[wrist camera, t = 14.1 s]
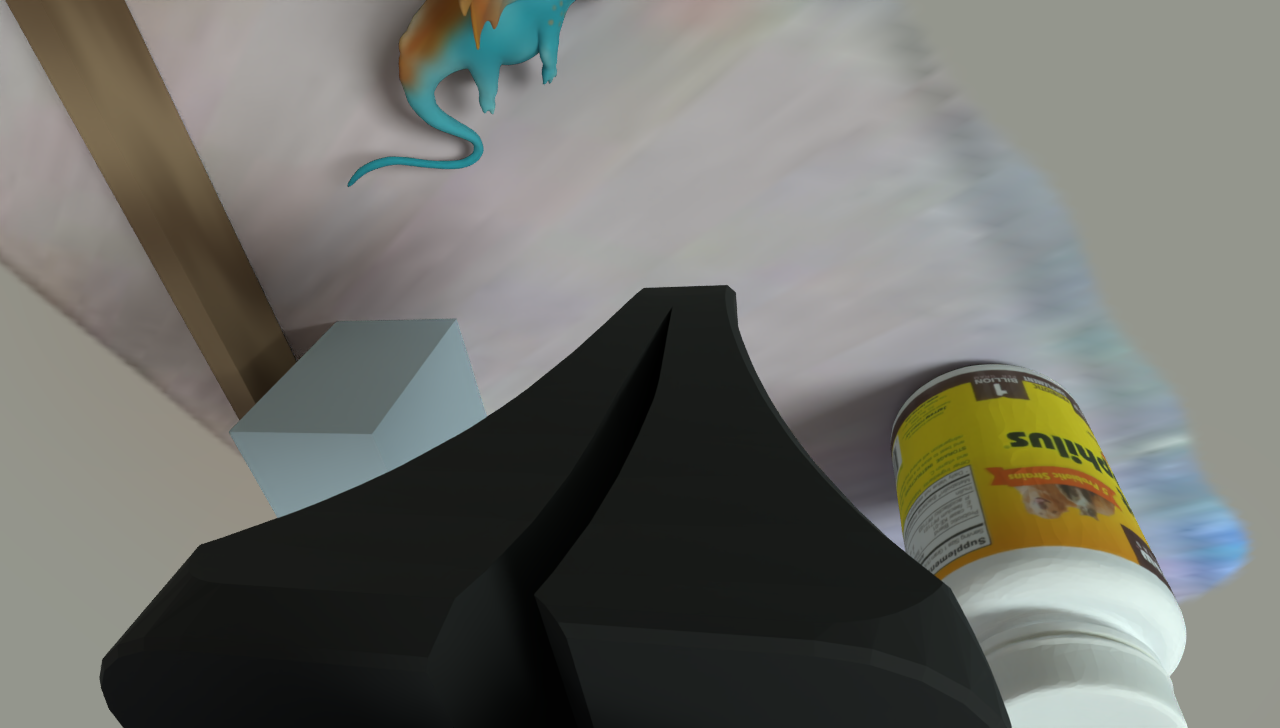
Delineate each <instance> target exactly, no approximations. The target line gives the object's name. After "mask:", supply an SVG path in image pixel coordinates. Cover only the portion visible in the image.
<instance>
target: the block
mask: <svg viewBox="0 0 1280 728" xmlns="http://www.w3.org/2000/svg"><path fill="white" fill-rule="evenodd" d="M486 417H487V415H486V412H485V409H484V406H483V403H482V399H481V396H480V393H479V390H478V387H477V383H476V380H475V377H474V374H473V371H472V367H471V364H470V361H469V358H468V355H467V351H466V348H465V345H464V342H463V339H462V335H461V332H460V329H459V326H458V323H457V319H422V320H377V321H337V322H336V323H335V324H334V325H333V326H332V327H331V328H330V329H329V330H328V331H327V332H326V333H325V334H324V335H323V336H322V337H321V338H320V339H319V340H318V341H317V342H316V343H315V344H314V345H313V346H312V347H311V348H310V349H309V350H308V351H307V352H306V353H305V354H304V355H303V356H302V357H301V358H300V359H299V360H298V361H297V362H296V364H295V365H294V366H293V367H292V368H291V369H290V370H289V371H288V372H287V373H286V374H285V375H284V376H283V377H282V378H281V379H280V380H279V381H278V382H277V383H276V384H275V385H274V386H273V387H272V388H271V389H270V390H269V391H268V392H267V393H266V394H265V395H264V396H263V397H262V398H261V399H260V400H259V401H258V402H257V403H256V404H255V405H254V406H253V407H252V408H251V409H250V410H249V412H248V413H247V414H246V415H245V416H244V417H243V418H242V419H241V420H240V421H239V422H238V423H237V424H236V425H235V426H234V427H233V428H232V429H231V430H230V431H229V433H230V435H231V437H232V439H233V440H234V442H235V444H236V446H237V447H238V449H239V451H240V453H241V454H242V456H243V458H244V460H245V461H246V463H247V465H248V467H249V468H250V470H251V472H252V474H253V475H254V477H255V479H256V481H257V482H258V484H259V486H260V488H261V490H262V491H263V493H264V495H265V497H266V498H267V500H268V502H269V504H270V505H271V507H272V509H273V511H274V512H275V514H276V516H277V518H279V517H282V516H284V515H287V514H290V513H293V512H296V511H298V510H301V509H303V508H306V507H308V506H311V505H314V504H316V503H319V502H321V501H324V500H326V499H328V498H331V497H333V496H335V495H338V494H340V493H342V492H345V491H347V490H349V489H352V488H354V487H356V486H359V485H361V484H363V483H365V482H367V481H369V480H372V479H374V478H376V477H378V476H380V475H382V474H385V473H387V472H389V471H391V470H393V469H395V468H397V467H399V466H401V465H403V464H405V463H407V462H409V461H410V460H412V459H414V458H416V457H418V456H420V455H422V454H423V453H425V452H427V451H429V450H431V449H433V448H434V447H436V446H438V445H440V444H442V443H444V442H445V441H447V440H449V439H451V438H453V437H455V436H457V435H458V434H460V433H462V432H464V431H465V430H467V429H469V428H470V427H472V426H473V425H475V424H477V423H478V422H480V421H481V420H483V419H484V418H486Z"/></svg>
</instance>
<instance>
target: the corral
mask: <svg viewBox="0 0 1280 728" xmlns="http://www.w3.org/2000/svg"><path fill="white" fill-rule="evenodd" d="M6 2H7V4H8V6H9V8H10V9H11V11H12V13H13V15H14V16H15V18H16V20H17V22H18V24H19V25H20V27H21V29H22V31H23V33H24V34H25V36H26V38H27V40H28V42H29V43H30V45H31V47H32V49H33V51H34V52H35V54H36V56H37V58H38V60H39V61H40V63H41V65H42V67H43V69H44V70H45V72H46V74H47V76H48V77H49V79H50V81H51V83H52V85H53V86H54V88H55V90H56V92H57V94H58V95H59V97H60V99H61V101H62V103H63V104H64V106H65V108H66V110H67V112H68V113H69V115H70V117H71V119H72V121H73V122H74V124H75V126H76V128H77V130H78V131H79V133H80V135H81V137H82V138H83V140H84V142H85V144H86V146H87V147H88V149H89V151H90V153H91V155H92V156H93V158H94V160H95V162H96V164H97V165H98V167H99V169H100V171H101V173H102V174H103V176H104V178H105V180H106V182H107V183H108V185H109V187H110V189H111V190H112V192H113V194H114V196H115V198H116V199H117V201H118V203H119V205H120V207H121V208H122V210H123V212H124V214H125V216H126V217H127V219H128V221H129V223H130V225H131V226H132V228H133V230H134V232H135V234H136V235H137V237H138V239H139V241H140V243H141V244H142V246H143V248H144V250H145V251H146V253H147V255H148V257H149V259H150V260H151V262H152V264H153V266H154V268H155V269H156V271H157V273H158V275H159V277H160V278H161V280H162V282H163V284H164V286H165V287H166V289H167V291H168V293H169V295H170V296H171V298H172V300H173V302H174V304H175V305H176V307H177V309H178V311H179V312H180V314H181V316H182V318H183V320H184V321H185V323H186V325H187V327H188V329H189V330H190V332H191V334H192V336H193V338H194V339H195V341H196V343H197V345H198V347H199V348H200V350H201V352H202V354H203V356H204V357H205V359H206V361H207V363H208V365H209V366H210V368H211V370H212V372H213V373H214V375H215V377H216V379H217V381H218V382H219V384H220V386H221V388H222V390H223V391H224V393H225V395H226V397H227V399H228V400H229V402H230V404H231V406H232V408H233V409H234V411H235V413H236V415H237V417H238V418H239V420H241V419H242V418H243V417H244V416H245V415H246V414H247V413H248V412H249V410H250V409H251V408H252V407H253V406H254V405H255V404H256V403H257V402H258V401H259V400H260V399H261V398H262V397H263V396H264V395H265V394H266V393H267V392H268V391H269V390H270V389H271V388H272V387H273V386H274V385H275V384H276V383H277V382H278V381H279V380H280V379H281V378H282V377H283V376H284V375H285V374H286V373H287V372H288V371H289V370H290V369H291V368H292V367H293V366H294V365H295V364H296V360H295V358H294V356H293V354H292V352H291V349H290V347H289V345H288V343H287V341H286V339H285V337H284V335H283V333H282V330H281V328H280V326H279V324H278V322H277V320H276V318H275V316H274V314H273V312H272V309H271V307H270V305H269V303H268V301H267V299H266V297H265V295H264V293H263V291H262V288H261V286H260V284H259V282H258V280H257V278H256V276H255V274H254V272H253V270H252V267H251V265H250V263H249V261H248V259H247V257H246V255H245V253H244V251H243V248H242V246H241V244H240V242H239V240H238V238H237V236H236V234H235V232H234V230H233V227H232V225H231V223H230V221H229V219H228V217H227V215H226V213H225V211H224V209H223V206H222V204H221V202H220V200H219V198H218V196H217V194H216V192H215V190H214V188H213V185H212V183H211V181H210V179H209V177H208V175H207V173H206V171H205V169H204V167H203V164H202V162H201V160H200V158H199V156H198V154H197V152H196V150H195V148H194V145H193V143H192V141H191V139H190V137H189V135H188V133H187V131H186V129H185V127H184V124H183V122H182V120H181V118H180V116H179V114H178V112H177V110H176V108H175V106H174V103H173V101H172V99H171V97H170V95H169V93H168V91H167V89H166V87H165V85H164V82H163V80H162V78H161V76H160V74H159V72H158V70H157V68H156V66H155V64H154V61H153V59H152V57H151V55H150V53H149V51H148V49H147V47H146V45H145V42H144V40H143V38H142V36H141V34H140V32H139V30H138V28H137V26H136V24H135V21H134V19H133V17H132V15H131V13H130V11H129V9H128V7H127V5H126V3H125V0H6Z"/></svg>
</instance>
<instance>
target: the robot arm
mask: <svg viewBox="0 0 1280 728" xmlns="http://www.w3.org/2000/svg"><path fill="white" fill-rule="evenodd" d="M100 684H101V689H102V692H103V694H104V697H105V700H106V703H107V705H108V708H109V710H110V711H111V712H112V713H113V715H114V716H115V717H116V719H117V720H118V721H119V723H120V724H121V725H122V726H123V728H1012V725H1011V722H1010V718H1009V716H1008V713H1007V710H1006V707H1005V705H1004V702H1003V699H1002V696H1001V694H1000V691H999V688H998V686H997V683H996V681H995V678H994V676H993V673H992V671H991V668H990V666H989V664H988V661H987V659H986V657H985V655H984V653H983V651H982V648H981V646H980V644H979V642H978V640H977V638H976V636H975V633H974V632H973V630H972V628H971V626H970V624H969V622H968V620H967V618H966V616H965V614H964V612H963V610H962V608H961V606H960V605H959V603H958V601H957V599H956V597H955V595H954V594H953V592H952V590H951V588H950V587H949V586H947V585H946V584H945V583H944V582H943V581H941V580H940V579H939V578H937V577H936V576H935V575H934V574H932V573H931V572H930V571H929V570H927V569H926V568H925V567H923V566H922V565H921V564H920V563H918V562H917V561H916V560H915V559H913V558H912V557H911V556H909V555H908V554H907V553H906V552H904V551H903V550H902V549H901V548H899V547H898V546H897V545H896V544H895V543H893V542H892V541H891V540H890V539H889V538H888V537H886V536H885V535H884V534H883V533H882V532H881V531H880V530H879V529H878V528H877V527H876V526H875V525H874V524H873V523H872V522H871V521H869V520H868V519H867V518H866V517H865V516H864V515H863V514H862V513H861V512H860V511H859V510H858V509H857V508H856V507H855V506H854V505H853V504H852V503H851V502H850V501H849V500H848V499H847V498H846V496H845V495H844V494H843V493H842V492H841V491H840V490H839V489H838V488H837V487H836V486H835V484H834V483H833V482H832V481H831V480H830V479H829V478H828V477H827V476H826V475H825V474H824V472H823V471H822V470H821V469H820V468H819V467H818V466H817V465H816V464H815V462H814V461H813V460H812V459H811V457H810V456H809V455H808V453H807V452H806V451H805V450H804V448H803V447H802V446H801V444H800V443H799V442H798V440H797V439H796V438H795V436H794V435H793V433H792V432H791V431H790V429H789V428H788V426H787V425H786V423H785V422H784V420H783V419H782V417H781V416H780V414H779V413H778V411H777V409H776V408H775V406H774V405H773V403H772V401H771V399H770V398H769V396H768V394H767V392H766V390H765V389H764V387H763V385H762V383H761V381H760V379H759V377H758V375H757V373H756V371H755V369H754V367H753V365H752V362H751V360H750V358H749V355H748V353H747V350H746V348H745V345H744V343H743V340H742V337H741V334H740V331H739V328H738V318H737V303H736V292H735V291H734V290H732V289H731V288H730V287H729V286H728V285H718V286H688V287H659V288H643V289H642V290H641V291H639V292H638V293H637V294H636V295H635V296H634V297H633V298H631V299H630V300H629V301H628V302H627V303H626V304H625V305H624V306H623V307H622V308H621V309H620V310H619V311H618V312H616V313H615V314H614V315H613V316H612V317H611V318H610V319H609V320H608V321H607V322H606V323H605V324H604V325H603V326H601V327H600V328H599V329H598V330H597V331H596V332H595V333H594V334H593V335H592V336H590V337H589V338H588V339H587V340H586V341H585V342H584V343H583V344H582V345H580V346H579V347H578V348H577V349H576V350H575V351H574V352H573V353H571V354H570V355H569V356H568V357H566V358H565V359H564V360H563V361H561V362H560V363H559V364H558V365H557V366H555V367H554V368H553V369H552V370H550V371H549V372H548V373H547V374H545V375H544V376H543V377H542V378H540V379H539V380H538V381H537V382H535V383H534V384H533V385H532V386H530V387H529V388H528V389H527V390H525V391H524V392H522V393H521V394H520V395H518V396H517V397H516V398H514V399H513V400H511V401H510V402H508V403H507V404H506V405H504V406H503V407H501V408H500V409H498V410H497V411H495V412H494V413H492V414H490V415H489V416H487V417H486V418H484V419H483V420H481V421H480V422H478V423H477V424H475V425H473V426H472V427H470V428H469V429H467V430H465V431H464V432H462V433H460V434H458V435H457V436H455V437H453V438H451V439H449V440H447V441H445V442H444V443H442V444H440V445H438V446H436V447H434V448H433V449H431V450H429V451H427V452H425V453H423V454H422V455H420V456H418V457H416V458H414V459H412V460H410V461H409V462H407V463H405V464H403V465H401V466H399V467H397V468H395V469H393V470H391V471H389V472H387V473H385V474H382V475H380V476H378V477H376V478H374V479H372V480H369V481H367V482H365V483H363V484H361V485H359V486H356V487H354V488H352V489H349V490H347V491H345V492H342V493H340V494H338V495H335V496H333V497H331V498H328V499H326V500H324V501H321V502H319V503H316V504H314V505H311V506H308V507H306V508H303V509H301V510H298V511H296V512H293V513H290V514H287V515H284V516H282V517H279V518H276V519H274V520H270V521H268V522H265V523H262V524H259V525H257V526H254V527H251V528H248V529H245V530H242V531H240V532H237V533H234V534H231V535H228V536H226V537H223V538H220V539H217V540H213V541H210V542H207V543H204V544H201V545H200V546H199V547H197V549H196V550H195V551H194V552H193V553H192V555H191V556H190V557H189V558H188V559H187V561H186V562H185V563H184V564H183V565H182V566H181V568H180V569H179V570H178V571H177V572H176V574H175V575H174V576H173V577H172V578H171V579H170V581H169V582H168V583H167V584H166V585H165V587H163V589H162V590H161V591H160V592H159V594H158V595H157V596H156V597H155V598H154V599H153V600H152V602H151V603H150V604H149V605H148V606H147V607H146V609H145V610H144V611H143V612H142V613H141V614H140V616H139V617H138V618H137V619H136V620H135V622H134V623H133V624H132V625H131V626H130V627H129V629H128V630H127V631H126V632H125V633H124V635H123V636H122V637H121V638H120V639H119V640H118V642H117V643H116V644H115V645H114V646H113V647H112V648H111V650H110V651H109V652H108V653H107V654H106V656H105V657H104V658H103V660H102V665H101V672H100Z"/></svg>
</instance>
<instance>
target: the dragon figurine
mask: <svg viewBox="0 0 1280 728" xmlns="http://www.w3.org/2000/svg"><path fill="white" fill-rule="evenodd" d="M574 1H575V0H426V1H425V3H424V4H423V5H422V7H421V8H420V9H419V11H418V12H417V13H416V14H415V15H414V17H413V19H412V21H411V23H410V24H409V26H408V29H407V31H406V32H405V33H404V34H403V35H402V37H401V38H400V41H399V51H400V57H399V78H400V81H401V83H402V86H403V89H404V91H405V95H406V98H407V100H408V102H409V104H410V106H411V107H412V109H413V110H414V111H415V112H416V113H417V115H418V116H419V117H421V118H422V119H423V120H424V121H425V122H426V123H427V124H429V125H430V126H432V127H434V128H436V129H438V130H440V131H443V132H446V133H449V134H452V135H455V136H457V137H460V138H463V139H465V140H468V141H470V142H471V143H472V144H473V145H474V151H473V153H472V154H471V155H470V156H468V157H466V158H464V159H462V160H454V161H431V160H422V159H415V158H409V157H395V156H394V157H385V158H381V159H377V160H374V161H372V162H369V163H367V164H365V165H364V166H362V167H360V168H359V169H358V170H357V171H356V172H355V174H354V175H353V176H352V177H351V179H350V181H349V183H348V187H349V186H351V185H353V184H354V183H355V182H356V181H357V180H358V179H359V178H360V177H362V176H363V175H364V174H366V173H368V172H370V171H372V170H375V169H378V168H381V167H384V166H389V165H409V166H417V167H426V168H438V169H459V168H464V167H468V166H470V165H472V164H474V163H475V162H477V161H478V160H479V159H480V157H481V156H482V154H483V144H482V141H481V139H480V137H479V136H478V134H477V133H476V132H474V131H473V130H472V129H470V128H469V127H467V126H466V125H464V124H462V123H460V122H459V121H457V120H455V119H454V118H452V117H451V116H449V115H447V114H446V113H445V112H444V111H442V110H441V109H440V108H439V107H438V105H437V104H436V100H435V96H434V91H435V89H436V87H437V85H438V84H439V82H441V81H442V80H443V79H444V78H445V77H447V76H448V75H450V74H451V73H453V72H456V71H458V70H462V69H468V70H469V71H470V72H471V74H472V77H473V79H474V81H475V83H476V85H477V87H478V90H479V103H480V106H481V108H482V110H483V112H484V113H486V112H487V111H490V112H491V114H493V113H494V110H495V96H496V94H497V90H498V78H499V69H500V66H501V65H514V64H519V63H522V62H525V61H527V60H529V59H531V58H532V57H534V56H535V55H537V54H538V53H540V58H541V61H542V63H543V67H542V77H543V84H546V83H547V81H548V82H549V83H551V82H552V80H553V78H554V77H556V74H557V69H556V64H557V52H558V45H559V34H560V30H561V27H562V23H563V20H564V18H565V14H566V12H567V10H568V8H569V6H570V5H571V4H572V3H573V2H574Z"/></svg>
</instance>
